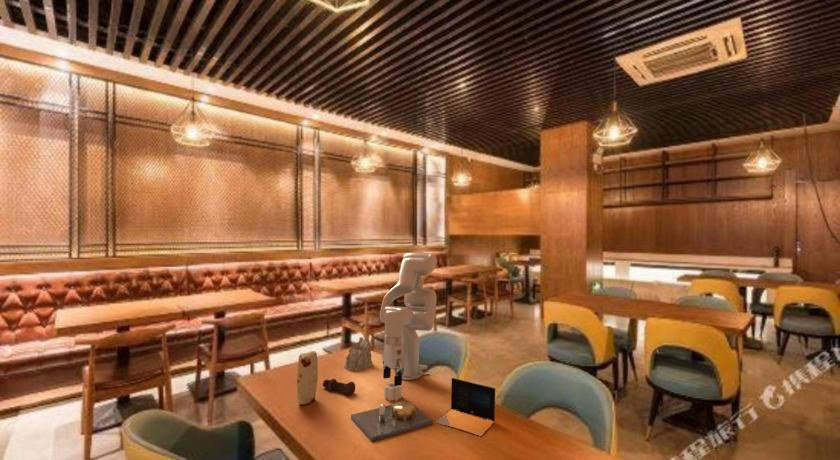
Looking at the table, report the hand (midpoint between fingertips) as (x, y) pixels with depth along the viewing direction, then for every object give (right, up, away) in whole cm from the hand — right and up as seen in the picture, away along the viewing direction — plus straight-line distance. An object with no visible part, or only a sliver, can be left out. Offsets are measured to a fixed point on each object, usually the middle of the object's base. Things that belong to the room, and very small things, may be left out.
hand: (392, 381), depth 163 cm
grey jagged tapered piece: (-21, -7, +40) cm, 46 cm away
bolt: (-24, -7, +6) cm, 26 cm away
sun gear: (+5, -6, -17) cm, 19 cm away
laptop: (+28, -8, -19) cm, 35 cm away
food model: (-34, -7, -5) cm, 35 cm away
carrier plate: (+1, -7, -20) cm, 21 cm away
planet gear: (0, -7, +1) cm, 7 cm away
